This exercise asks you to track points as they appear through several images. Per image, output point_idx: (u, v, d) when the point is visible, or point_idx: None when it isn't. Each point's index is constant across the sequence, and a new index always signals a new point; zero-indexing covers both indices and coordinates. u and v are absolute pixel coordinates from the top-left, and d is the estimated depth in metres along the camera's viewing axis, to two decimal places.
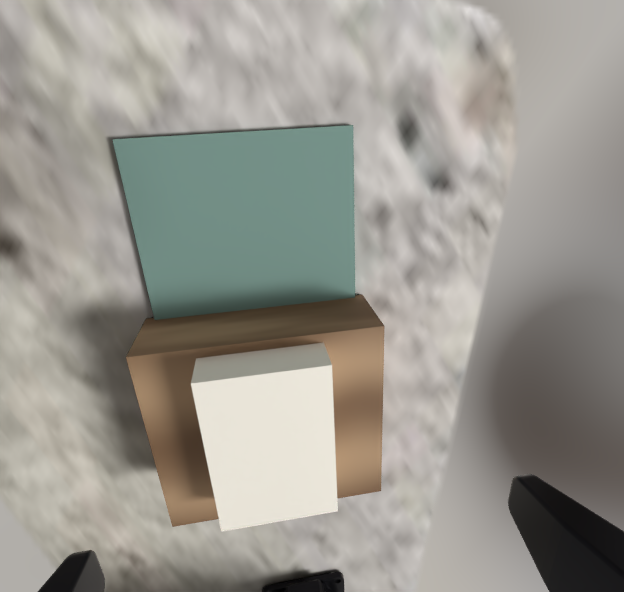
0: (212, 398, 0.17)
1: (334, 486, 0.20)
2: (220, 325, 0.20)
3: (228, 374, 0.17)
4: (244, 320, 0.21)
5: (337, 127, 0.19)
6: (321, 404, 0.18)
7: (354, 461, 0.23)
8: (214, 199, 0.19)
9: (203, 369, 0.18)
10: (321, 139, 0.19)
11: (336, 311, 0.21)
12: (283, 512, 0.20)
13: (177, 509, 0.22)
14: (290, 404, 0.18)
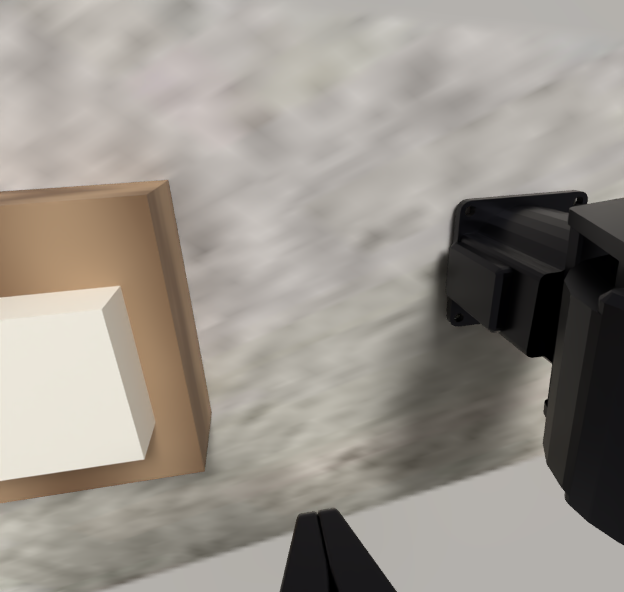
0: None
1: (39, 319, 0.12)
2: None
3: None
4: None
5: None
6: None
7: (74, 248, 0.13)
8: None
9: None
10: None
11: None
12: (104, 388, 0.13)
13: (173, 467, 0.17)
14: None
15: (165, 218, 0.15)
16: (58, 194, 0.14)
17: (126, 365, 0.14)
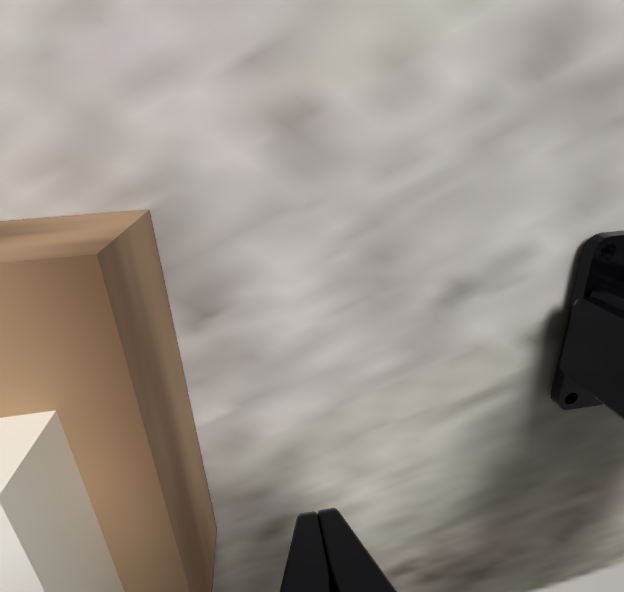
0: None
1: None
2: None
3: None
4: None
5: None
6: None
7: None
8: None
9: None
10: None
11: None
12: None
13: None
14: None
15: (141, 278, 0.09)
16: None
17: (65, 560, 0.07)
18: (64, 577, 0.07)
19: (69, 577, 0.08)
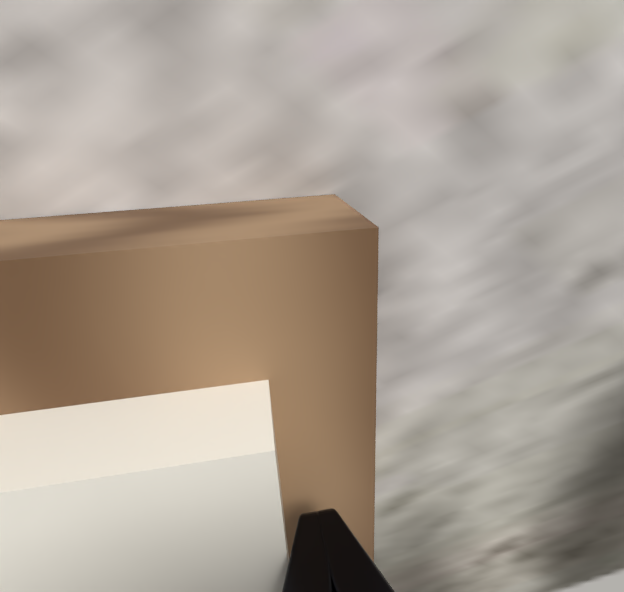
0: None
1: (161, 473, 0.06)
2: None
3: None
4: None
5: None
6: None
7: (244, 319, 0.08)
8: None
9: None
10: None
11: None
12: (256, 569, 0.08)
13: None
14: None
15: None
16: (201, 222, 0.09)
17: (283, 517, 0.08)
18: None
19: (285, 534, 0.08)
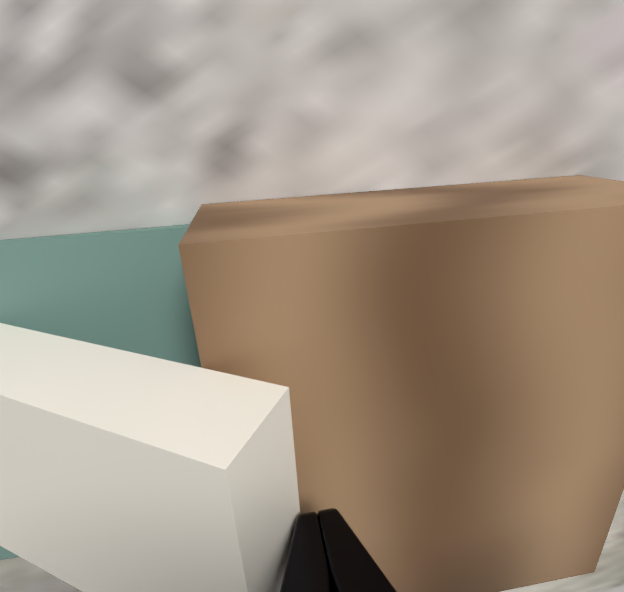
0: None
1: (130, 443, 0.06)
2: None
3: None
4: None
5: None
6: None
7: (593, 280, 0.09)
8: None
9: None
10: None
11: None
12: (218, 581, 0.07)
13: (562, 569, 0.13)
14: None
15: None
16: (522, 195, 0.09)
17: (266, 543, 0.07)
18: (262, 560, 0.07)
19: (266, 561, 0.07)
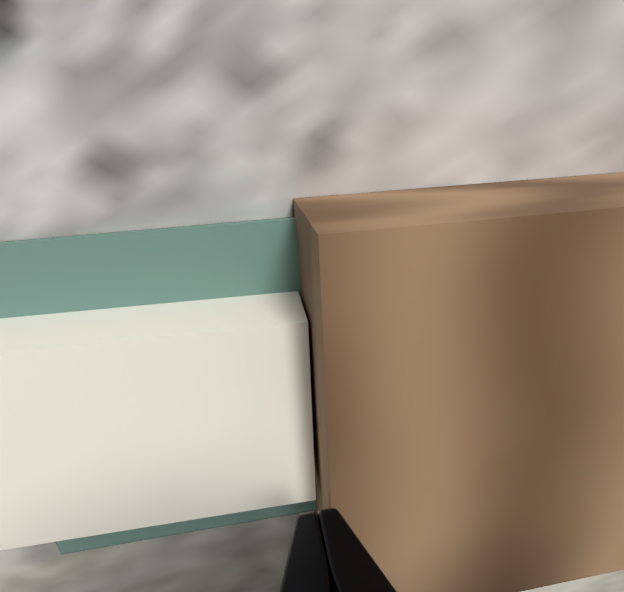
0: (16, 527, 0.11)
1: (233, 333, 0.10)
2: (318, 472, 0.12)
3: None
4: (315, 435, 0.12)
5: None
6: (2, 375, 0.09)
7: None
8: None
9: None
10: None
11: (306, 288, 0.10)
12: (290, 417, 0.11)
13: None
14: (11, 425, 0.10)
15: None
16: (619, 188, 0.10)
17: None
18: None
19: None
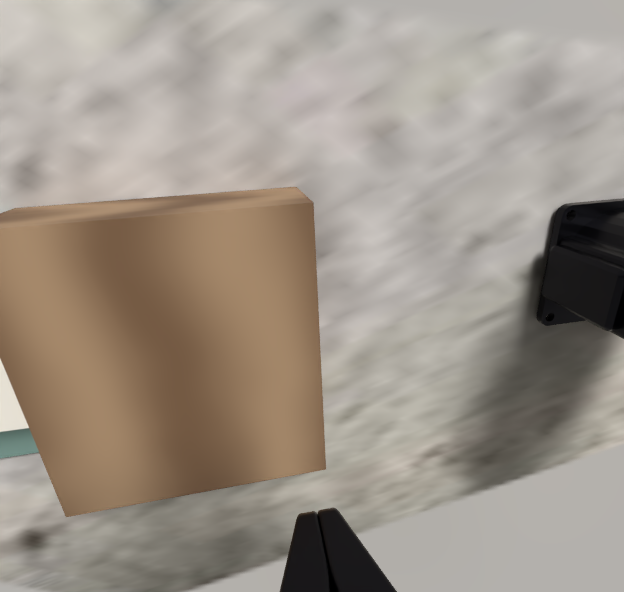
0: None
1: None
2: None
3: None
4: None
5: None
6: None
7: (240, 255, 0.14)
8: None
9: None
10: None
11: None
12: None
13: (298, 466, 0.18)
14: None
15: None
16: (213, 202, 0.15)
17: None
18: None
19: None
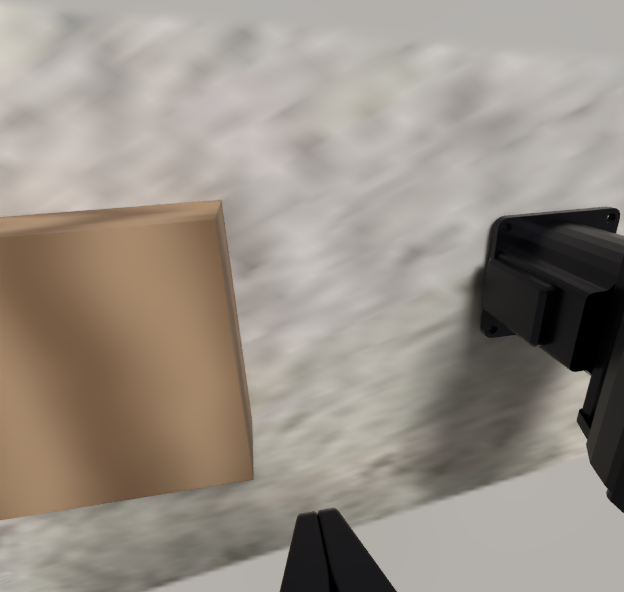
0: None
1: None
2: None
3: None
4: None
5: None
6: None
7: (144, 270, 0.14)
8: None
9: None
10: None
11: None
12: None
13: (224, 475, 0.18)
14: None
15: (222, 238, 0.16)
16: (125, 217, 0.15)
17: None
18: None
19: None
